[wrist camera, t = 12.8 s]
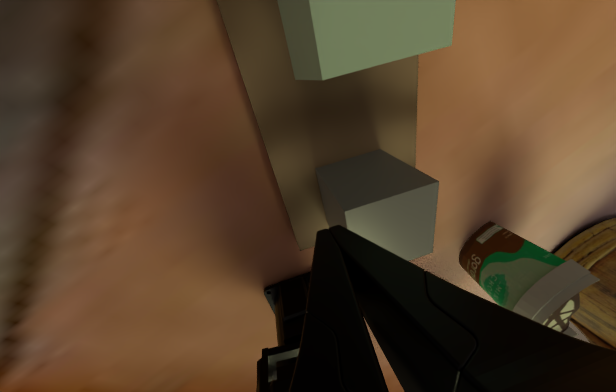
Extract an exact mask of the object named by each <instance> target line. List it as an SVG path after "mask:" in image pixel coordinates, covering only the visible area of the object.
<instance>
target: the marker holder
mask: <svg viewBox="0 0 616 392" xmlns="http://www.w3.org/2000/svg"><path fill="white" fill-rule="evenodd" d="M217 3H218V6H219V9H220V12H221V15H222V18H223V21H224V24H225V27H226V30H227V33H228V36H229V39H230V42H231V45H232V48H233V51H234V54H235V57H236V60H237V63H238V66H239V69H240V72H241V75H242V78H243V81H244V84H245V87H246V90H247V93H248V96H249V99H250V102H251V105H252V108H253V111H254V114H255V117H256V120H257V123H258V126H259V129H260V132H261V135H262V138H263V141H264V144H265V147H266V150H267V153H268V156H269V159H270V162H271V165H272V168H273V171H274V174H275V177H276V180H277V183H278V186H279V189H280V192H281V195H282V198H283V201H284V204H285V207H286V210H287V213H288V216H289V219H290V222H291V225H292V228H293V231H294V234H295V237H296V240H297V243H298V246H299V249H300V251H301V250H304V249H307V248H310V247H313V246H315V240H316V233H317V231H319V230H322V229H326V228H327V229H329V225H328V223H327V219H326V214H325V210H324V205H323V201H322V197H321V192H320V188H319V183H318V179H317V174H316V170H315V168H319V167H322V166H325V165H329V164H332V163H335V162H338V161H342V160H345V159H348V158H352V157H355V156H358V155H362V154H365V153H368V152H372V151H375V150H378V149H381V150H383V151H385V152H387V153H389V154H390V155H392V156H394V157H396V158H398V159H399V160H401V161H403V162H405V163H407V164H408V165H410V166H412V167H414V168H415V161H416V125H417V88H418V55H414V56H411V57H407V58H403V59H400V60H396V61H392V62H388V63H385V64H381V65H377V66H374V67H370V68H366V69H363V70H359V71H355V72H352V73H348V74H344V75H340V76H337V77H333V78H329V79H326V80H295V76H294V72H293V68H292V63H291V59H290V54H289V50H288V45H287V41H286V37H285V32H284V28H283V23H282V19H281V15H280V10H279V6H278V1H277V0H217Z"/></svg>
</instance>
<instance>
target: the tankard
mask: <svg viewBox="0 0 616 392" xmlns="http://www.w3.org/2000/svg"><path fill="white" fill-rule="evenodd" d="M554 255H556V256H558V257H560V258H562V259H563V260H565V261H568V260H570V259H572V260H574V261H575V262H577V263H578V264H580V265H581V266H583V267H584V268H585V269H587V270H588V271H590V274H592V275H594V276H595V277H597V278H599V279H600V280H599V281H597V282H595V283H593V284H591V285H590V286H588V287H586V288H585V289H583V290H582V291H580V293H579V296H580V307H579V309H578V310H577V311H576V312H575V313H574V314H573V315H572V316H571V318H570V322H571V323H573V324H574V325H575V326H576V327H577V328H578V329H579V330H580V331H581V333H582V334H583V335H584V336H585V337H586V338H587V339H588V341H589V342H590V343H592V344H595V345H598V346H602V347H605V348H609V349H614V350H616V218H613V219H609V220H606V221H603V222H601V223H599V224H596V225H594V226H593V227H591V228H589V229H587V230H585V231H583V232H582V233H580V234H579V235H577V236H576V237H574V238H573V239H571V240H569V241H568V242H567V243H566V244H565V245H564V246H563V247H561V248H560V249H559V250H558V251H557V252H555V253H554Z"/></svg>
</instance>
